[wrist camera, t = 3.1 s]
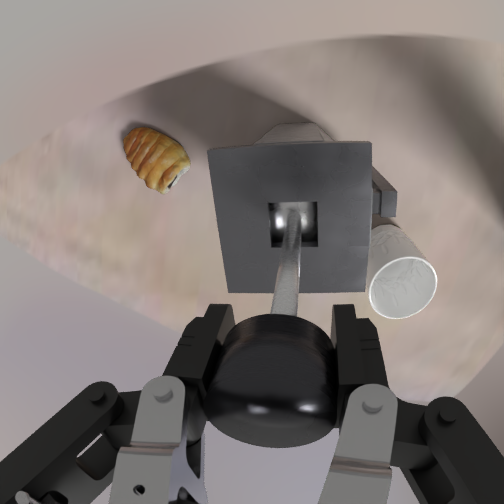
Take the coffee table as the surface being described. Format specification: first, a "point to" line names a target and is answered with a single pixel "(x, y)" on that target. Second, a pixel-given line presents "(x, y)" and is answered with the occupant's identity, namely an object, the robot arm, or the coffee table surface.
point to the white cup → (398, 274)
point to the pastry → (155, 158)
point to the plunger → (277, 357)
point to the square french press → (298, 190)
